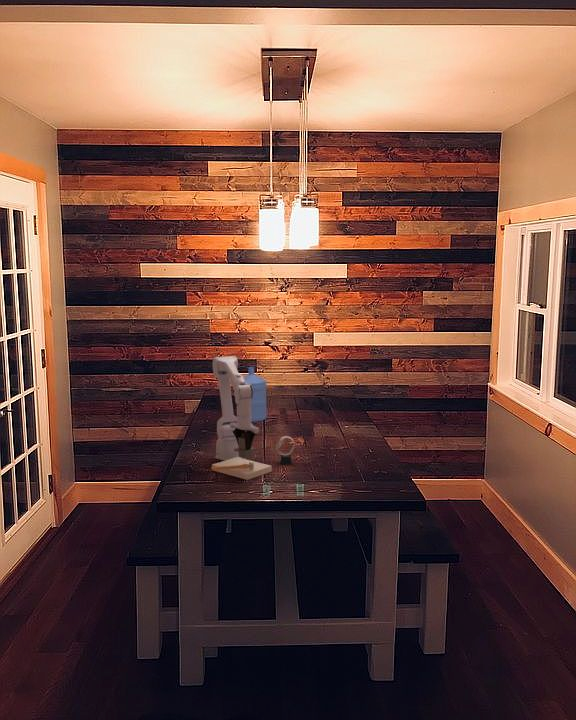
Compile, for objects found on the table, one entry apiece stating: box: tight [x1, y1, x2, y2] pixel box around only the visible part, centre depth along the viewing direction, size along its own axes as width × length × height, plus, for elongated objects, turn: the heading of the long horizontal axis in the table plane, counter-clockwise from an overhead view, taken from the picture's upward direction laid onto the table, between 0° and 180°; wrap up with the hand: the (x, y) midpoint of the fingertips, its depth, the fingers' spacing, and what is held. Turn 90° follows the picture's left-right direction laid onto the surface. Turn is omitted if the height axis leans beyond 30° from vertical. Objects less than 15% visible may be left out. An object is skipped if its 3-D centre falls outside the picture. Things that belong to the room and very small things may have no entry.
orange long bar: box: [211, 463, 254, 471], centre depth 270 cm, size 16×2×2 cm, turn 100°
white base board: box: [211, 457, 273, 481], centre depth 279 cm, size 20×14×2 cm
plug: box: [234, 433, 257, 459], centre depth 276 cm, size 6×6×10 cm
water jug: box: [243, 366, 268, 423], centre depth 368 cm, size 16×16×28 cm
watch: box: [275, 435, 296, 465], centre depth 289 cm, size 6×8×11 cm
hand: (244, 447), depth 276 cm, fingers closed on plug, 4 cm apart
